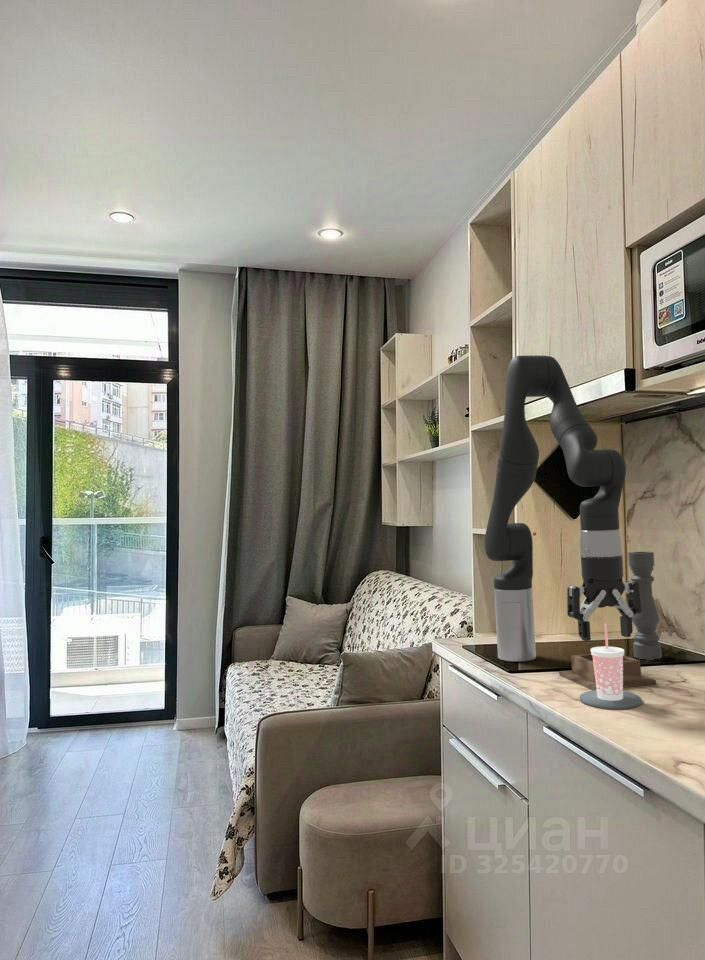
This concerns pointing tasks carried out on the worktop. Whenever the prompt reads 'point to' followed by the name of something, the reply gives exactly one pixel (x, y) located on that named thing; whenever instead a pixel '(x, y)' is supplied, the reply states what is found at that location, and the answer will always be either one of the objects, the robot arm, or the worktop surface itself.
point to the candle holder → (645, 608)
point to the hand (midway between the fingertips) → (606, 638)
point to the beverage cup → (608, 670)
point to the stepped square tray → (586, 675)
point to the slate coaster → (625, 703)
